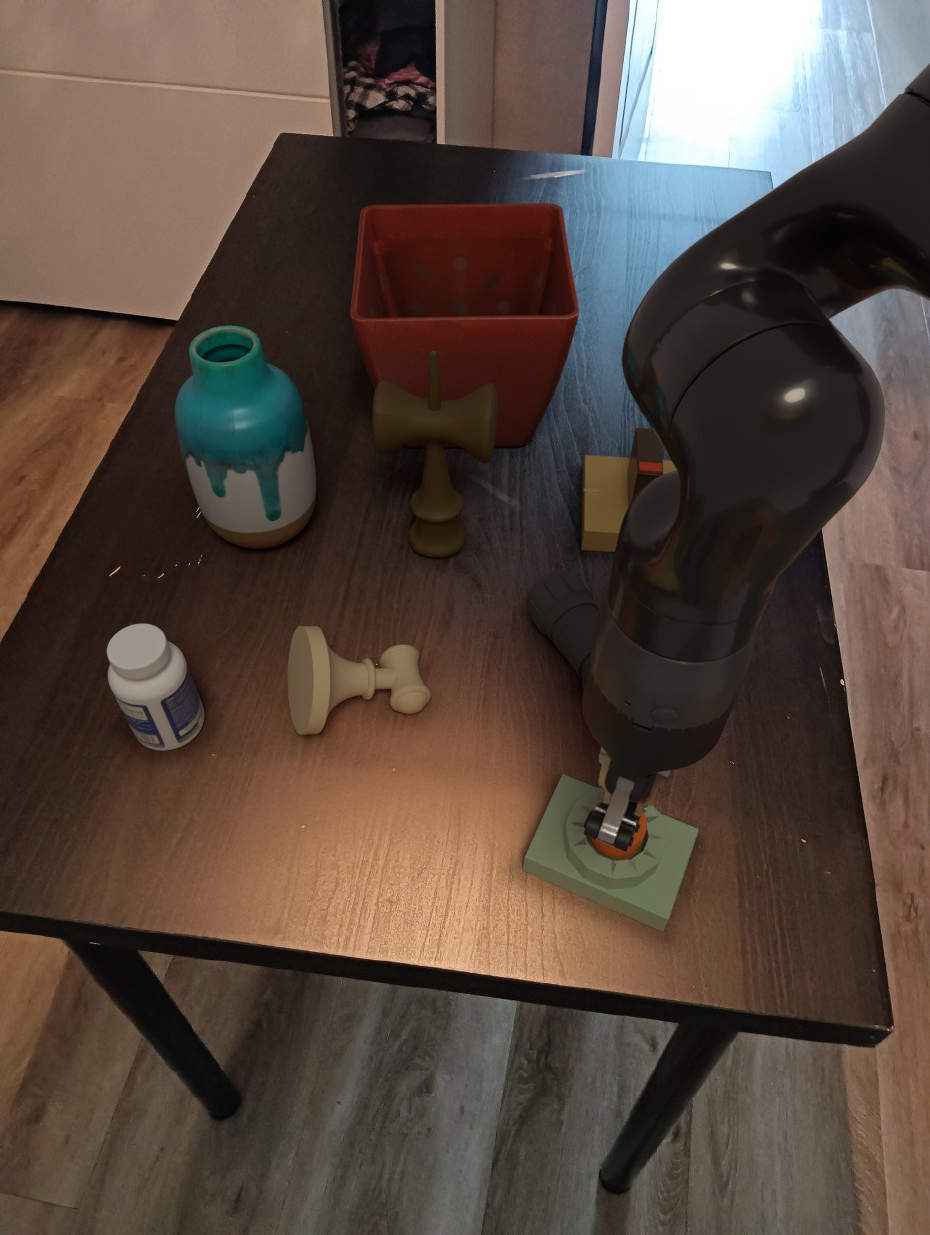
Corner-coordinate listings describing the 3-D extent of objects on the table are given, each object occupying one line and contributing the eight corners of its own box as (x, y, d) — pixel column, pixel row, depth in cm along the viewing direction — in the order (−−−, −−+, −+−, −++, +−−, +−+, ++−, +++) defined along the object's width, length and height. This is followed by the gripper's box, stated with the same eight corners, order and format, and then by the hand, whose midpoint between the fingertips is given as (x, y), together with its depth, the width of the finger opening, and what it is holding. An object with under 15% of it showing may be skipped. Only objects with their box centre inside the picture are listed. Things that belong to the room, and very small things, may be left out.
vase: (320, 481, 88) (292, 299, 73) (327, 562, 81) (298, 380, 66) (207, 492, 87) (155, 310, 72) (204, 575, 80) (147, 394, 65)
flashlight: (517, 619, 77) (520, 576, 73) (572, 597, 79) (579, 554, 75) (616, 762, 69) (626, 722, 64) (676, 735, 70) (690, 694, 66)
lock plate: (688, 480, 88) (693, 459, 86) (695, 558, 82) (701, 537, 80) (581, 473, 89) (584, 452, 87) (580, 550, 82) (583, 529, 80)
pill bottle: (198, 685, 73) (169, 606, 65) (212, 740, 70) (183, 663, 62) (129, 705, 72) (90, 627, 64) (139, 762, 68) (100, 686, 61)
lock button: (650, 821, 62) (654, 809, 60) (632, 867, 60) (637, 855, 58) (599, 800, 63) (602, 788, 61) (580, 845, 61) (583, 833, 59)
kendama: (488, 569, 81) (497, 379, 65) (379, 562, 81) (362, 371, 66) (493, 521, 85) (502, 331, 69) (388, 514, 85) (374, 323, 70)
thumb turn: (627, 471, 85) (636, 425, 81) (651, 472, 85) (661, 426, 81) (628, 516, 82) (637, 471, 77) (653, 518, 81) (664, 472, 77)
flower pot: (364, 472, 89) (348, 317, 76) (373, 354, 101) (361, 202, 88) (563, 471, 89) (581, 316, 76) (548, 353, 101) (562, 202, 88)
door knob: (426, 605, 72) (451, 687, 67) (399, 669, 77) (421, 749, 72) (301, 603, 68) (319, 690, 63) (282, 671, 73) (297, 755, 68)
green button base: (692, 843, 65) (704, 816, 62) (662, 932, 61) (673, 908, 58) (559, 788, 67) (564, 760, 64) (522, 870, 63) (525, 845, 60)
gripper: (635, 550, 51) (598, 723, 64) (547, 737, 43) (526, 888, 57) (771, 594, 49) (703, 762, 62) (704, 797, 41) (644, 939, 55)
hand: (619, 822), depth 59 cm, fingers closed
